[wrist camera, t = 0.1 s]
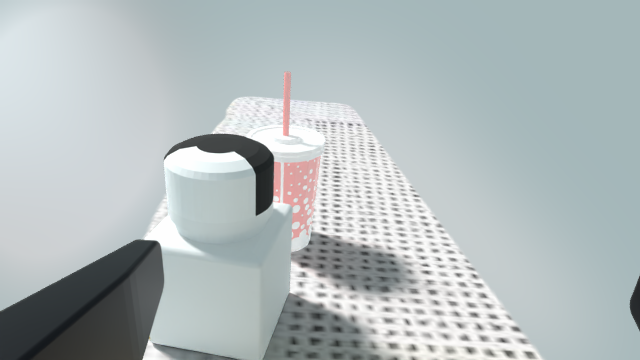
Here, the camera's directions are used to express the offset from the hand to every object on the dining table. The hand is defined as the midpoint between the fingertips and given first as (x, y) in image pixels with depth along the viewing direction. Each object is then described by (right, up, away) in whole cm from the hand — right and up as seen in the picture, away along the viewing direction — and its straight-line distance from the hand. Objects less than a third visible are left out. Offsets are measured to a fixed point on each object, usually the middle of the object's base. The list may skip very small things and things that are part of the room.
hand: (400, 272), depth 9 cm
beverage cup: (-5, -3, +32) cm, 33 cm away
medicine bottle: (-8, -7, +23) cm, 25 cm away
